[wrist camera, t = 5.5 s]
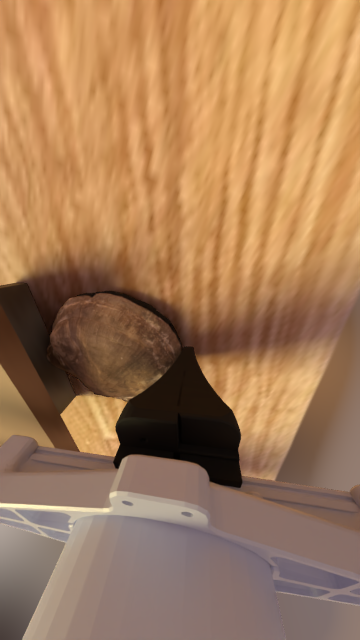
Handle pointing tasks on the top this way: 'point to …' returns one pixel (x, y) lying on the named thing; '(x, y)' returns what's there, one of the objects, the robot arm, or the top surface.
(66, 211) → the top surface
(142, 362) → the shell
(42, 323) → the walnut shelf
